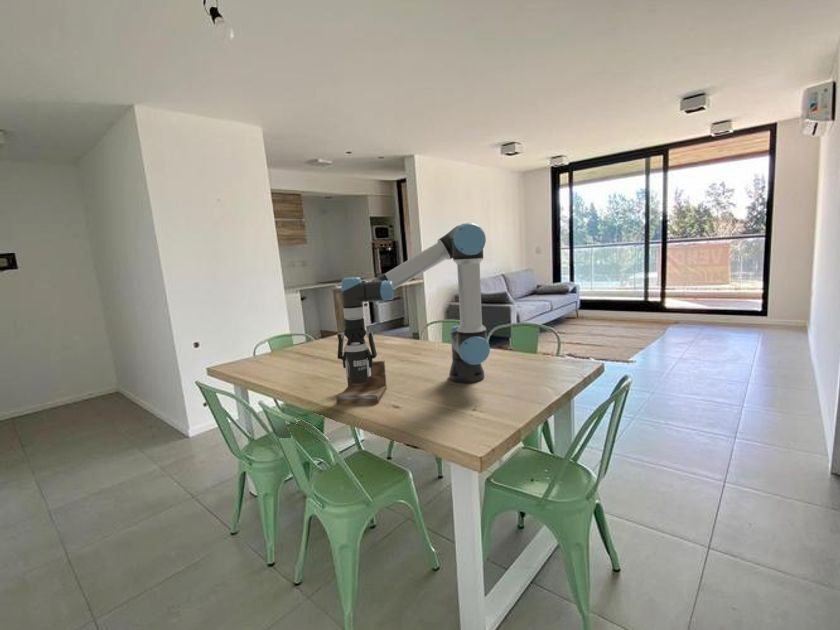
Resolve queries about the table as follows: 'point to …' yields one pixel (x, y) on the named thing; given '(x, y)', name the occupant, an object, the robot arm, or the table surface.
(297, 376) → the table surface
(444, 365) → the table surface
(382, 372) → the shelf
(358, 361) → the coffee cup
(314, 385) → the table surface
